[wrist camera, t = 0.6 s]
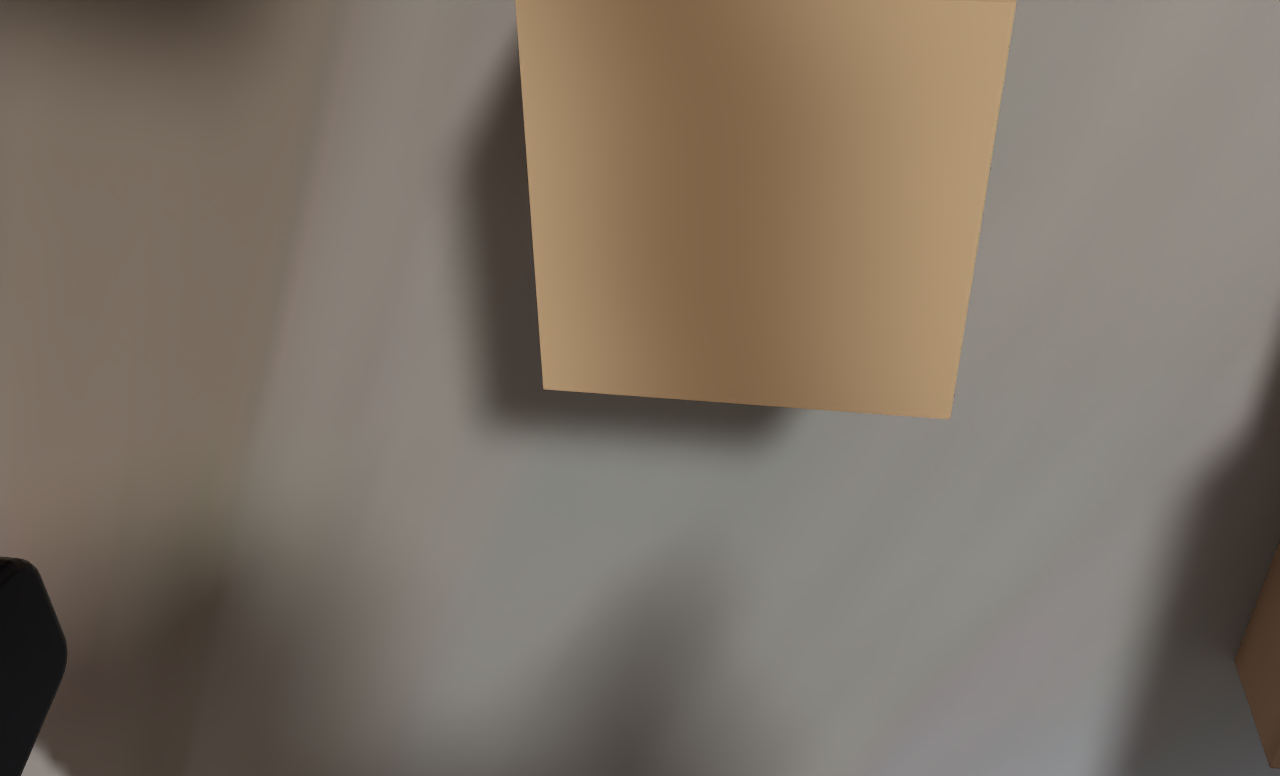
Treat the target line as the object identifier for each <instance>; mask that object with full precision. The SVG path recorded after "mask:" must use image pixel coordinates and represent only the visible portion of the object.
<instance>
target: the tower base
mask: <svg viewBox="0 0 1280 776" xmlns="http://www.w3.org/2000/svg"><path fill="white" fill-rule="evenodd" d="M1235 664H1236V667H1237V670H1238V673H1239V676H1240V679H1241V682H1242V685H1243V688H1244V691H1245V694H1246V697H1247V700H1248V703H1249V706H1250V709H1251V712H1252V715H1253V718H1254V721H1255V724H1256V727H1257V730H1258V733H1259V736H1260V739H1261V742H1262V745H1263V748H1264V751H1265V754H1266V757H1267V760H1268V763H1269V766H1270V768H1279V769H1280V541H1279V544H1278V546H1277V549H1276V552H1275V554H1274V557H1273V560H1272V562H1271V565H1270V568H1269V570H1268V573H1267V576H1266V578H1265V581H1264V584H1263V586H1262V589H1261V592H1260V594H1259V597H1258V599H1257V602H1256V605H1255V607H1254V610H1253V613H1252V615H1251V618H1250V621H1249V623H1248V626H1247V629H1246V631H1245V634H1244V637H1243V639H1242V642H1241V645H1240V647H1239V650H1238V653H1237V655H1236V658H1235Z"/></svg>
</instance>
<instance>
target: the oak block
mask: <svg viewBox="0 0 1280 776" xmlns="http://www.w3.org/2000/svg"><path fill="white" fill-rule="evenodd" d="M515 4H516V18H517V31H518V45H519V59H520V73H521V87H522V101H523V114H524V128H525V142H526V156H527V170H528V184H529V197H530V211H531V225H532V239H533V253H534V266H535V280H536V294H537V308H538V322H539V336H540V349H541V363H542V377H543V389H546V390H559V391H573V392H587V393H600V394H614V395H627V396H641V397H655V398H668V399H682V400H695V401H709V402H723V403H736V404H750V405H763V406H777V407H791V408H804V409H818V410H831V411H845V412H858V413H872V414H886V415H899V416H913V417H926V418H940V419H950V417H951V411H952V404H953V398H954V392H955V385H956V379H957V373H958V367H959V360H960V354H961V348H962V341H963V335H964V329H965V323H966V316H967V310H968V304H969V297H970V291H971V285H972V279H973V272H974V266H975V260H976V253H977V247H978V241H979V235H980V228H981V222H982V216H983V209H984V203H985V197H986V191H987V184H988V178H989V172H990V165H991V159H992V153H993V147H994V140H995V134H996V128H997V121H998V115H999V109H1000V103H1001V96H1002V90H1003V84H1004V77H1005V71H1006V65H1007V59H1008V52H1009V46H1010V40H1011V33H1012V27H1013V21H1014V15H1015V8H1016V0H515Z"/></svg>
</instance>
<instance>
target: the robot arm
mask: <svg viewBox="0 0 1280 776" xmlns="http://www.w3.org/2000/svg"><path fill="white" fill-rule="evenodd" d="M66 663H67V644H66V639H65V636H64V633H63V631H62V628H61V626H60V623H59V621H58V618H57V616H56V613H55V611H54V608H53V606H52V603H51V600H50V598H49V595H48V593H47V590H46V588H45V585H44V583H43V580H42V578H41V575H40V573H39V572H38V570H37V568H36V567H35V566H33V565H32V564H31V563H30V562H29V561H26V560H24V559H20V558H10V557H0V776H21V774H22V771H23V769H24V767H25V765H26V762H27V760H28V758H29V755H30V753H31V751H32V748H33V746H34V744H35V741H36V739H37V737H38V734H39V732H40V730H41V727H42V725H43V723H44V720H45V718H46V716H47V713H48V711H49V709H50V706H51V704H52V701H53V699H54V697H55V694H56V692H57V690H58V687H59V685H60V683H61V680H62V678H63V675H64V671H65V667H66Z"/></svg>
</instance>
